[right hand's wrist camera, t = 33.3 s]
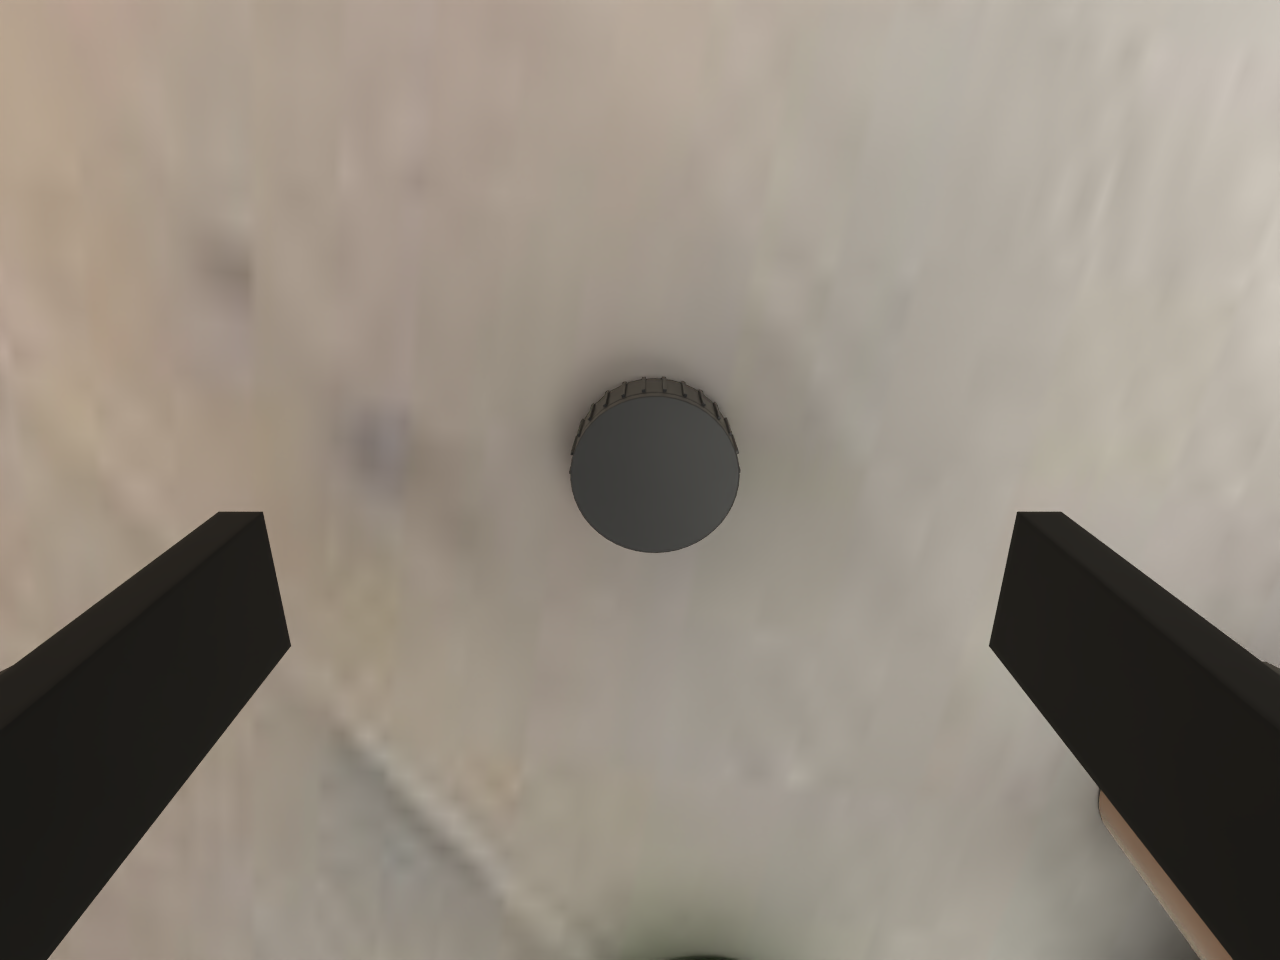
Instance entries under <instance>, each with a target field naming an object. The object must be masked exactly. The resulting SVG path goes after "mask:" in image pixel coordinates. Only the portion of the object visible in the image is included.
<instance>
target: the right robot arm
mask: <svg viewBox="0 0 1280 960" xmlns="http://www.w3.org/2000/svg"><path fill="white" fill-rule="evenodd" d="M290 647H291V644H290V639H289V634H288V629H287V625H286V620H285V615H284V610H283V606H282V601H281V596H280V591H279V587H278V582H277V577H276V572H275V567H274V563H273V558H272V553H271V548H270V544H269V539H268V534H267V529H266V525H265V520H264V515H263V512H218V513H217V514H215V515H214V516H213V517H211V518H210V519H209V520H207V521H206V522H204V523H203V524H202V525H200V526H199V527H198V528H196V529H195V530H194V531H192V532H191V533H190V534H188V535H187V536H186V537H184V538H183V539H182V540H180V541H179V542H178V543H176V544H175V545H174V546H172V547H171V548H170V549H168V550H167V551H166V552H164V553H163V554H162V555H160V556H159V557H158V558H156V559H155V560H154V561H152V562H151V563H150V564H148V565H147V566H146V567H144V568H143V569H142V570H140V571H139V572H138V573H136V574H135V575H134V576H132V577H131V578H130V579H128V580H127V581H126V582H124V583H123V584H122V585H120V586H119V587H118V588H116V589H115V590H113V591H112V592H111V593H109V594H108V595H107V596H105V597H104V598H103V599H101V600H100V601H99V602H97V603H96V604H95V605H93V606H92V607H91V608H89V609H88V610H87V611H85V612H84V613H83V614H81V615H80V616H79V617H77V618H76V619H75V620H73V621H72V622H71V623H69V624H68V625H67V626H65V627H64V628H63V629H61V630H60V631H59V632H57V633H56V634H55V635H53V636H52V637H51V638H49V639H48V640H47V641H45V642H44V643H43V644H41V645H40V646H39V647H37V648H36V649H35V650H33V651H32V652H31V653H29V654H28V655H26V656H25V657H24V658H22V659H21V660H20V661H18V662H17V663H16V664H14V665H13V666H11V667H9V668H7V669H5V670H3V671H1V672H0V960H47V959H48V958H49V956H50V955H51V954H52V953H53V951H54V950H55V949H56V947H57V946H58V945H59V944H60V942H61V941H62V940H63V938H64V937H65V936H66V935H67V933H68V932H69V931H70V929H71V928H72V927H73V926H74V924H75V923H76V922H77V920H78V919H79V918H80V917H81V915H82V914H83V913H84V911H85V910H86V909H87V908H88V906H89V905H90V904H91V902H92V901H93V900H94V899H95V897H96V896H97V895H98V893H99V892H100V891H101V890H102V888H103V887H104V886H105V884H106V883H107V882H108V881H109V879H110V878H111V877H112V875H113V874H114V873H115V872H116V870H117V869H118V868H119V866H120V865H121V864H122V863H123V861H124V860H125V859H126V857H127V856H128V855H129V854H130V852H131V851H132V850H133V848H134V847H135V846H136V845H137V843H138V842H139V841H140V839H141V838H142V837H143V836H144V834H145V833H146V832H147V830H148V829H149V828H150V827H151V825H152V824H153V823H154V821H155V820H156V819H157V818H158V816H159V815H160V814H161V812H162V811H163V810H164V809H165V807H166V806H167V805H168V803H169V802H170V801H171V800H172V798H173V797H174V796H175V794H176V793H177V792H178V791H179V789H180V788H181V787H182V785H183V784H184V783H185V782H186V780H187V779H188V778H189V776H190V775H191V774H192V773H193V771H194V770H195V769H196V767H197V766H198V765H199V764H200V762H201V761H202V760H203V758H204V757H205V756H206V755H207V753H208V752H209V751H210V749H211V748H212V747H213V746H214V744H215V743H216V742H217V740H218V739H219V738H220V737H221V735H222V734H223V733H224V731H225V730H226V729H227V728H228V726H229V725H230V724H231V722H232V721H233V720H234V719H235V717H236V716H237V715H238V713H239V712H240V711H241V710H242V708H243V707H244V706H245V704H246V703H247V702H248V701H249V699H250V698H251V697H252V695H253V694H254V693H255V692H256V690H257V689H258V688H259V686H260V685H261V684H262V683H263V681H264V680H265V679H266V677H267V676H268V675H269V674H270V672H271V671H272V670H273V668H274V667H275V666H276V665H277V663H278V662H279V661H280V659H281V658H282V657H283V656H284V654H285V653H286V652H287V650H288V649H289V648H290ZM989 647H990V648H991V649H992V650H993V652H994V653H995V654H996V656H997V657H998V658H999V659H1000V661H1001V662H1002V663H1003V665H1004V666H1005V667H1006V668H1007V670H1008V671H1009V672H1010V674H1011V675H1012V676H1013V677H1014V679H1015V680H1016V681H1017V683H1018V684H1019V685H1020V686H1021V688H1022V689H1023V690H1024V692H1025V693H1026V694H1027V695H1028V697H1029V698H1030V699H1031V701H1032V702H1033V703H1034V704H1035V706H1036V707H1037V708H1038V710H1039V711H1040V712H1041V713H1042V715H1043V716H1044V717H1045V719H1046V720H1047V721H1048V722H1049V724H1050V725H1051V726H1052V728H1053V729H1054V730H1055V731H1056V733H1057V734H1058V735H1059V737H1060V738H1061V739H1062V740H1063V742H1064V743H1065V744H1066V746H1067V747H1068V748H1069V749H1070V751H1071V752H1072V753H1073V755H1074V756H1075V757H1076V758H1077V760H1078V761H1079V762H1080V764H1081V765H1082V766H1083V767H1084V769H1085V770H1086V771H1087V773H1088V774H1089V775H1090V776H1091V778H1092V779H1093V780H1094V782H1095V783H1096V784H1097V785H1098V787H1099V788H1100V789H1101V791H1102V792H1103V793H1104V794H1105V796H1106V797H1107V798H1108V800H1109V801H1110V802H1111V803H1112V805H1113V806H1114V807H1115V809H1116V810H1117V811H1118V812H1119V814H1120V815H1121V816H1122V818H1123V819H1124V820H1125V821H1126V823H1127V824H1128V825H1129V827H1130V828H1131V829H1132V830H1133V832H1134V833H1135V834H1136V836H1137V837H1138V838H1139V839H1140V841H1141V842H1142V843H1143V845H1144V846H1145V847H1146V848H1147V850H1148V851H1149V852H1150V854H1151V855H1152V856H1153V857H1154V859H1155V860H1156V861H1157V863H1158V864H1159V865H1160V866H1161V868H1162V869H1163V870H1164V872H1165V873H1166V874H1167V875H1168V877H1169V878H1170V879H1171V881H1172V882H1173V883H1174V884H1175V886H1176V887H1177V888H1178V890H1179V891H1180V892H1181V893H1182V895H1183V896H1184V897H1185V899H1186V900H1187V901H1188V902H1189V904H1190V905H1191V906H1192V908H1193V909H1194V910H1195V911H1196V913H1197V914H1198V915H1199V917H1200V918H1201V919H1202V920H1203V922H1204V923H1205V924H1206V926H1207V927H1208V928H1209V929H1210V931H1211V932H1212V933H1213V935H1214V936H1215V937H1216V938H1217V940H1218V941H1219V942H1220V944H1221V945H1222V946H1223V947H1224V949H1225V950H1226V951H1227V953H1228V954H1229V955H1230V956H1231V958H1232V959H1233V960H1280V669H1279V668H1277V667H1275V666H1273V665H1271V664H1269V663H1267V662H1262V661H1260V660H1259V659H1258V658H1256V657H1255V656H1254V655H1252V654H1251V653H1249V652H1248V651H1247V650H1245V649H1244V648H1243V647H1241V646H1240V645H1239V644H1237V643H1236V642H1235V641H1233V640H1232V639H1231V638H1229V637H1228V636H1227V635H1225V634H1224V633H1223V632H1221V631H1220V630H1219V629H1217V628H1216V627H1215V626H1213V625H1212V624H1211V623H1209V622H1208V621H1207V620H1205V619H1204V618H1203V617H1201V616H1200V615H1199V614H1197V613H1196V612H1195V611H1193V610H1192V609H1191V608H1189V607H1188V606H1187V605H1185V604H1184V603H1183V602H1181V601H1180V600H1179V599H1177V598H1176V597H1175V596H1173V595H1172V594H1171V593H1169V592H1168V591H1167V590H1165V589H1164V588H1162V587H1161V586H1160V585H1158V584H1157V583H1156V582H1154V581H1153V580H1152V579H1150V578H1149V577H1148V576H1146V575H1145V574H1144V573H1142V572H1141V571H1140V570H1138V569H1137V568H1136V567H1134V566H1133V565H1132V564H1130V563H1129V562H1128V561H1126V560H1125V559H1124V558H1122V557H1121V556H1120V555H1118V554H1117V553H1116V552H1114V551H1113V550H1112V549H1110V548H1109V547H1108V546H1106V545H1105V544H1104V543H1102V542H1101V541H1100V540H1098V539H1097V538H1096V537H1094V536H1093V535H1092V534H1090V533H1089V532H1088V531H1086V530H1085V529H1084V528H1082V527H1081V526H1080V525H1078V524H1077V523H1076V522H1074V521H1073V520H1071V519H1070V518H1069V517H1067V516H1066V515H1065V514H1063V513H1062V512H1017V515H1016V520H1015V525H1014V529H1013V534H1012V539H1011V544H1010V548H1009V553H1008V558H1007V563H1006V567H1005V572H1004V577H1003V582H1002V587H1001V591H1000V596H999V601H998V606H997V610H996V615H995V620H994V625H993V629H992V634H991V639H990V644H989Z"/></svg>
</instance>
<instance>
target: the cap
mask: <svg viewBox="0 0 1280 960" xmlns="http://www.w3.org/2000/svg"><path fill="white" fill-rule="evenodd" d="M737 454H739V452H738V448H737V445H736V442H735V440H734V437H733V435H732V432H731V429H730V426H729V423H728V420H727V418H723V416H722V414H721V413H720V412H719V409H718V406H717V404H716V403H715V402H714V403H712V402H711V401H710V400H709V399H708V398H707V397H705V396H704V395H703V391H701V390H699V391H697V390H695V389H694V388H692V387H689V386H687V385H686V384H685V382H684V381H682V382H681V383H679V382H676V381H672V380H666V377H662V379H646V377H642V380H638V381H634V382H630V383H626V382H623V385H622V386H620V387H618V388H616V389H614V390H612V391H611V392H609V391H607V392H606V393H605V396H604V397H603V398H602V399H601V400H599V401H598V402H597V403H596V404H594V403H593V404H592V405H591V409H590V412H589V414H588V415H587V417H586V418H585V420H584V419H582V421H581V424H580V427H579V430H578V434H577V436H576V438H575V441H574V445H573V448H572V451H571V455H573V457H572V462H571V467H570V471H569V472H570V474H571V486H572V492H573V495H574V498H575V501H576V503H577V506H578V508H579V510H580V511H581V513H582V515H583V516H584V518H585V519H586V520H587V521H588V523H589V524H590V525H591V526H592V527H593V528H594V529H595V530H596V531H597V532H598V533H599V534H601V535H602V536H604V537H605V538H606V539H608V540H610V541H611V542H613V543H615V544H617V545H619V546H622V547H624V548H627V549H631V550H635V551H640V552H648V553H661V552H670V551H675V550H679V549H682V548H685V547H688V546H690V545H692V544H694V543H697V542H698V541H700V540H702V539H703V538H705V537H706V536H708V535H709V534H710V533H711V532H712V531H714V530H715V529H716V528H717V527H718V526H719V525H720V524H721V522H722V521H723V520H724V518H725V517H726V516H727V514H728V513H729V511H730V509H731V507H732V505H733V503H734V500H735V498H736V495H737V490H738V486H739V473H740V467H739V463H738V458H737Z"/></svg>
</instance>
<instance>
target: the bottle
mask: <svg viewBox="0 0 1280 960" xmlns="http://www.w3.org/2000/svg"><path fill="white" fill-rule="evenodd" d="M1099 810H1100V815H1101V818H1102V821H1103V823H1104V825H1105V826H1106V828H1107V829H1108V831H1109V832H1110V834H1111V835H1112V837H1113V838H1114V839H1115V841H1116V842H1117V844H1118V845H1119V846H1120V848H1121V849H1122V851H1123V852H1124V853H1125V855H1126V856H1127V858H1128V859H1129V860H1130V862H1131V863H1132V865H1133V866H1134V867H1135V869H1136V870H1137V872H1138V873H1139V874H1140V876H1141V877H1142V879H1143V880H1144V881H1145V883H1146V884H1147V886H1148V887H1149V888H1150V890H1151V891H1152V893H1153V894H1154V895H1155V897H1156V898H1157V900H1158V901H1159V902H1160V904H1161V905H1162V907H1163V908H1164V909H1165V911H1166V912H1167V914H1168V915H1169V916H1170V918H1171V919H1172V921H1173V922H1174V923H1175V925H1176V926H1177V928H1178V929H1179V931H1180V932H1181V933H1182V935H1183V936H1184V938H1185V939H1186V940H1187V942H1188V943H1189V945H1190V946H1191V947H1192V949H1193V950H1194V952H1195V953H1196V954H1197V956H1198V957H1199V959H1200V960H1233V959H1232V958H1231V956H1230V955H1229V954H1228V953H1227V951H1226V950H1225V949H1224V947H1223V946H1222V945H1221V944H1220V942H1219V941H1218V940H1217V938H1216V937H1215V936H1214V935H1213V933H1212V932H1211V931H1210V929H1209V928H1208V927H1207V926H1206V924H1205V923H1204V922H1203V920H1202V919H1201V918H1200V917H1199V915H1198V914H1197V913H1196V911H1195V910H1194V909H1193V908H1192V906H1191V905H1190V904H1189V902H1188V901H1187V900H1186V899H1185V897H1184V896H1183V895H1182V893H1181V892H1180V891H1179V890H1178V888H1177V887H1176V886H1175V884H1174V883H1173V882H1172V881H1171V879H1170V878H1169V877H1168V875H1167V874H1166V873H1165V872H1164V870H1163V869H1162V868H1161V866H1160V865H1159V864H1158V863H1157V861H1156V860H1155V859H1154V857H1153V856H1152V855H1151V854H1150V852H1149V851H1148V850H1147V848H1146V847H1145V846H1144V845H1143V843H1142V842H1141V841H1140V839H1139V838H1138V837H1137V836H1136V834H1135V833H1134V832H1133V830H1132V829H1131V828H1130V827H1129V825H1128V824H1127V823H1126V821H1125V820H1124V819H1123V818H1122V816H1121V815H1120V814H1119V812H1118V811H1117V810H1116V809H1115V807H1114V806H1113V805H1112V803H1111V802H1110V801H1109V800H1108V798H1107V797H1106V796H1105V794H1104V793H1103V792H1102V791H1101V790H1100V796H1099Z"/></svg>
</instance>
